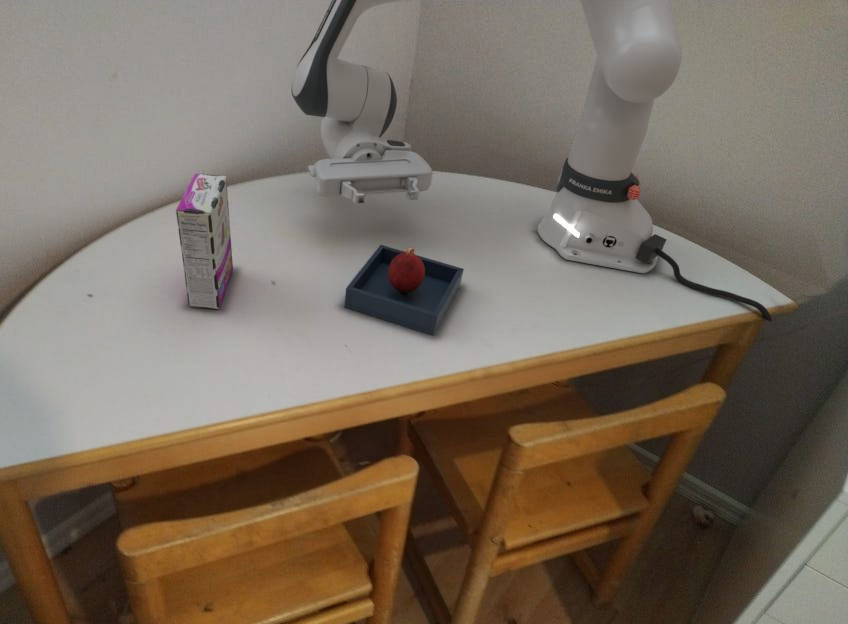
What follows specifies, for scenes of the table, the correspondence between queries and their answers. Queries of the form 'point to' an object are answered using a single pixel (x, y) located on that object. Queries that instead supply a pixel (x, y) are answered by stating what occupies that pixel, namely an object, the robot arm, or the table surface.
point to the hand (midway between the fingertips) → (387, 198)
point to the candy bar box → (205, 240)
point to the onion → (406, 271)
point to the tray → (405, 309)
